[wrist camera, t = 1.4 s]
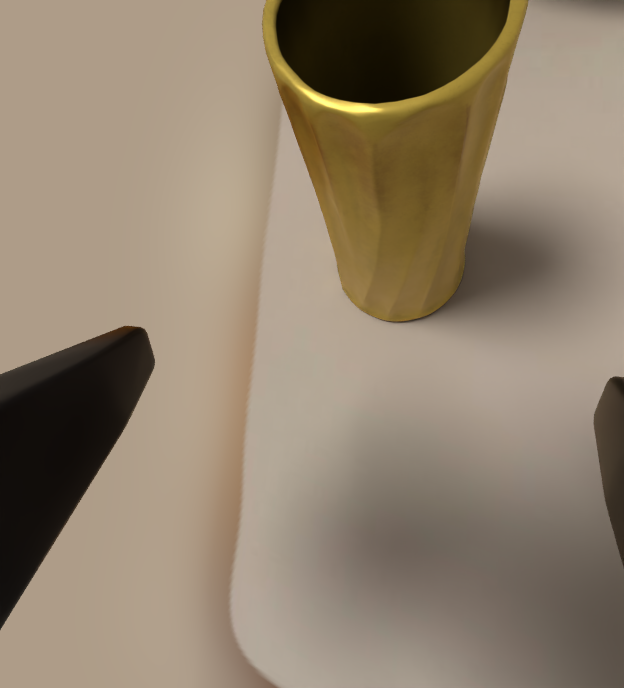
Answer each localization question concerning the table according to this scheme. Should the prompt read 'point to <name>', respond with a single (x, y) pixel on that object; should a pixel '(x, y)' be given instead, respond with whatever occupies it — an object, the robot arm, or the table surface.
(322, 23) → the vase
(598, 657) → the table surface
